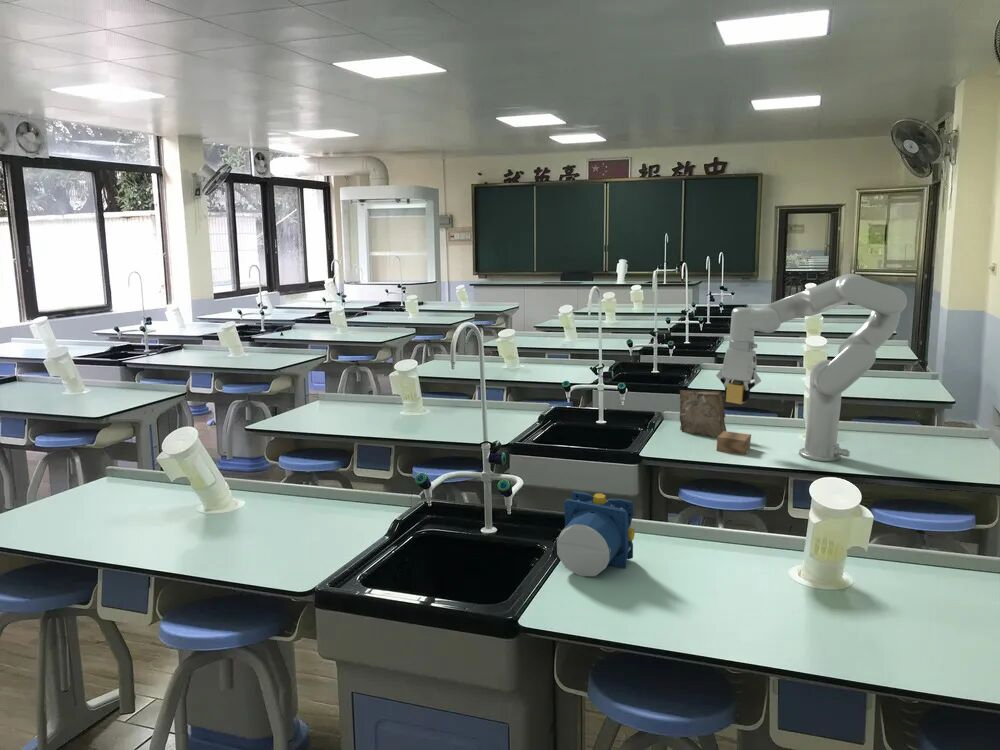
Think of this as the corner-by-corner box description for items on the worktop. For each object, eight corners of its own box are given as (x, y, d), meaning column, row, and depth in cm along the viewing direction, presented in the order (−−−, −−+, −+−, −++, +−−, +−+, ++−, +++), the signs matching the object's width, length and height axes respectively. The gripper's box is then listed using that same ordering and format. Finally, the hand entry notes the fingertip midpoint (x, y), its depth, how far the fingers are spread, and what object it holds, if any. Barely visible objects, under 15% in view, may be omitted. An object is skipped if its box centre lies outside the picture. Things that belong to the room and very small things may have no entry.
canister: (747, 401, 263) (748, 380, 261) (740, 404, 259) (742, 383, 257) (732, 399, 266) (733, 378, 265) (725, 401, 262) (727, 380, 261)
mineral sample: (726, 436, 282) (729, 392, 279) (723, 439, 278) (726, 394, 275) (678, 429, 291) (680, 386, 288) (674, 431, 287) (676, 388, 284)
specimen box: (749, 449, 267) (751, 434, 266) (744, 455, 259) (745, 440, 258) (722, 445, 271) (723, 431, 270) (716, 451, 264) (717, 436, 263)
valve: (572, 545, 183) (571, 485, 178) (636, 558, 176) (636, 497, 171) (548, 574, 172) (546, 511, 167) (615, 590, 165) (615, 525, 160)
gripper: (771, 347, 256) (766, 402, 260) (720, 341, 267) (716, 394, 270) (762, 350, 251) (757, 406, 254) (711, 343, 261) (707, 397, 265)
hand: (736, 399), depth 262 cm, fingers closed on canister, 5 cm apart
